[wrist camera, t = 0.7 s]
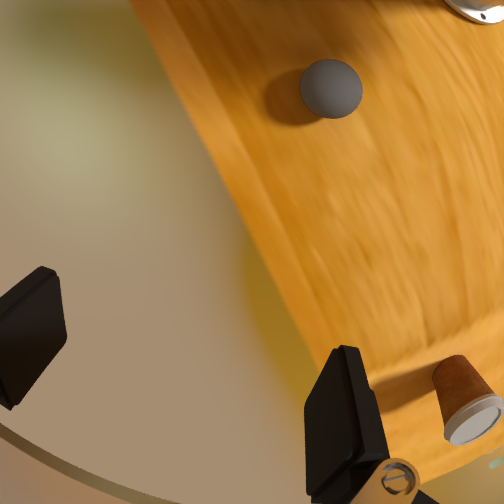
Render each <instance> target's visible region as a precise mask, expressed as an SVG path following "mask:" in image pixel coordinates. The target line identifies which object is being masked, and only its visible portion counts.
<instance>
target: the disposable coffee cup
mask: <svg viewBox="0 0 504 504" xmlns="http://www.w3.org/2000/svg"><path fill="white" fill-rule="evenodd" d="M433 381H434V385H435V389H436V393H437V397H438V401H439V405H440V409H441V413H442V417H443V422H444V426H445V428H444V438H445V439H446V440H448V441H449V442H450V443H451V444H452V445H454V446H459V445H464V444H467V443H470V442H472V441H474V440H476V439H478V438H480V437H481V436H483V435H484V434H486V433H487V432H488V431H489V430H490V429H492V428H493V427H494V426H495V425H496V424H497V422H498V421H499V420H500V418H501V417H502V415H503V410H504V409H503V399H502V398H501V397H500V396H498V395H497V394H495V393H494V392H493V391H492V389H491V388H490V387H489V386H488V384H487V383H486V382H485V381H484V379H483V378H482V377H481V376H480V374H479V373H478V372H477V371H476V370H475V369H474V367H473V366H472V365H471V364H470V362H469V361H468V360H467V359H466V358H465V357H464V356H463V355H455V356H452V357H450V358H448V359H446V360H445V361H443V362H442V363H441V364H440V365H439V366H438V367H437V368H436V370H435V371H434V374H433Z"/></svg>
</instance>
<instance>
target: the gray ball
mask: <svg viewBox="0 0 504 504" xmlns="http://www.w3.org/2000/svg"><path fill="white" fill-rule="evenodd" d="M362 92H363V89H362V83H361V80H360V78H359V76H358V75H357V73H356V72H355V71H354V70H353V69H352V68H351V67H350V66H349V65H347V64H345V63H344V62H341V61H338V60H333V59H326V60H320V61H317V62H315V63H313V64H312V65H310V66H309V67H308V68H307V69H306V70H305V72H304V73H303V75H302V78H301V81H300V93H301V97H302V99H303V101H304V103H305V104H306V106H307V107H308V108H309V109H310V110H311V111H312V112H314V113H315V114H317V115H319V116H322V117H324V118H330V119H337V118H342V117H345V116H347V115H349V114H351V113H352V112H353V111H354V110H355V109H356V108H357V107H358V105H359V103H360V101H361V98H362Z"/></svg>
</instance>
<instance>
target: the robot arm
mask: <svg viewBox="0 0 504 504" xmlns="http://www.w3.org/2000/svg"><path fill="white" fill-rule="evenodd" d="M444 1H445V2H446V3H447V4H448V5H449V6H450V7H451V8H453V9H454V10H455V11H456V12H458V13H459V14H461V15H462V16H464V17H466V18H467V19H469V20H471V21H474V22H476V23H479V24H484V25H493V24H496V23H499V22H501V21H502V20H504V0H444ZM66 340H67V332H66V326H65V320H64V313H63V306H62V297H61V289H60V280H59V277H58V276H57V274H56V272H55V271H54V270H52V269H49V268H47V267H44V266H40V267H38V268H37V269H36V270H34V271H33V272H32V273H30V274H29V275H28V276H26V277H25V278H24V279H23V280H21V281H20V282H19V283H18V284H16V285H15V286H14V287H12V288H11V289H10V290H9V291H8V292H6V293H5V294H4V295H3V296H1V297H0V404H1V405H2V406H4V407H5V408H7V409H8V410H10V411H11V410H12V408H13V407H14V405H18V404H19V403H20V402H21V401H22V399H23V398H24V397H25V395H26V394H27V392H28V391H29V390H30V388H31V387H32V386H33V384H34V383H35V382H36V380H37V379H38V378H39V376H40V375H41V374H42V372H43V371H44V370H45V368H46V367H47V366H48V365H49V363H50V362H51V361H52V360H53V358H54V357H55V356H56V354H57V353H58V352H59V351H60V350H61V348H62V347H63V346H64V344H65V343H66ZM304 423H305V454H306V493H307V495H309V496H311V503H313V504H439V503H438V502H436V501H435V500H433V499H432V498H430V497H429V496H428V495H426V494H425V493H423V492H422V491H421V490H419V486H420V477H419V474H418V471H417V470H416V469H415V467H414V466H413V465H412V464H410V463H409V462H408V461H405V460H403V459H399V458H391V459H390V455H389V450H388V446H387V441H386V437H385V433H384V429H383V425H382V421H381V417H380V413H379V409H378V405H377V401H376V397H375V394H374V392H373V390H371V389H370V387H369V384H368V380H367V376H366V372H365V369H364V365H363V362H362V358H361V354H360V351H359V349H358V348H357V347H351V346H345V345H340V346H339V347H338V349H336V348H334V349H333V350H332V352H331V354H330V356H329V358H328V360H327V362H326V364H325V366H324V368H323V370H322V372H321V374H320V376H319V377H318V380H317V382H316V383H315V385H314V387H313V389H312V391H311V393H310V394H309V396H308V398H307V400H306V402H305V406H304ZM0 504H180V503H175V502H172V501H169V500H165V499H161V498H158V497H155V496H151V495H148V494H145V493H142V492H139V491H136V490H133V489H130V488H127V487H125V486H122V485H119V484H117V483H114V482H111V481H109V480H106V479H104V478H102V477H99V476H97V475H94V474H92V473H90V472H87V471H85V470H83V469H81V468H78V467H76V466H74V465H72V464H70V463H68V462H66V461H64V460H62V459H60V458H58V457H56V456H54V455H53V454H51V453H49V452H47V451H45V450H43V449H41V448H40V447H38V446H36V445H34V444H33V443H31V442H29V441H28V440H26V439H24V438H23V437H21V436H19V435H18V434H16V433H15V432H13V431H12V430H10V429H8V428H7V427H5V426H4V425H2V424H1V423H0Z"/></svg>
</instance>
